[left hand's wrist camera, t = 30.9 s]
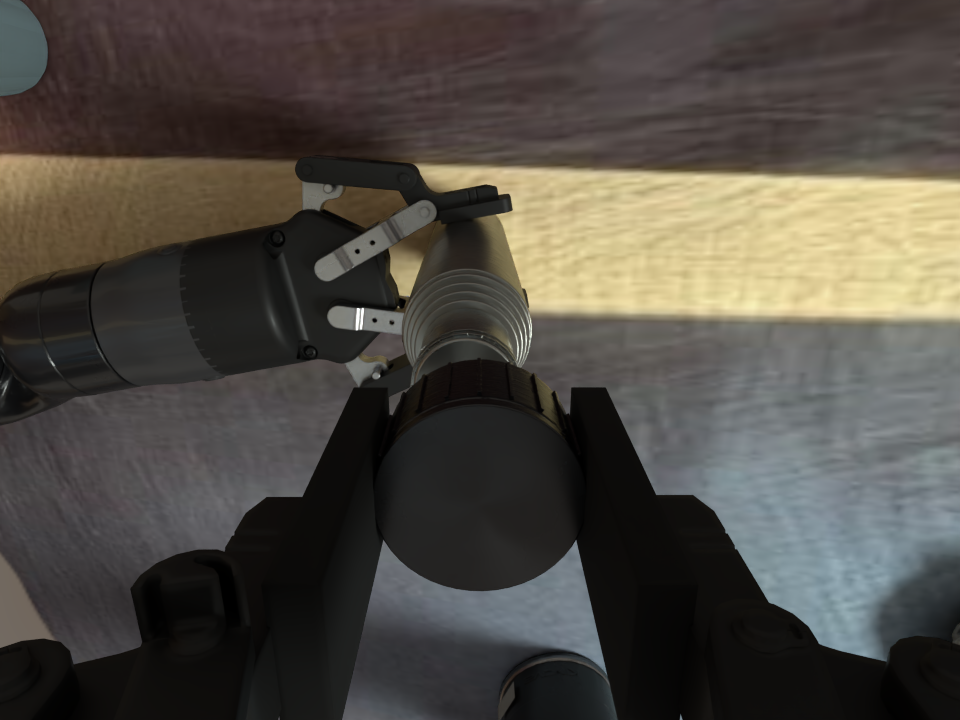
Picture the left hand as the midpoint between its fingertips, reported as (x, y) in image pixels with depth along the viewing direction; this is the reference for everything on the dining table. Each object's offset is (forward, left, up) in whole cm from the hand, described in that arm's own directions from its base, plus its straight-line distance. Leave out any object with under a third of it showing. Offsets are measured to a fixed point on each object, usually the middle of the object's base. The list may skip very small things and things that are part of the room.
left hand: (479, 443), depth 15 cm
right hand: (-2, +1, -21) cm, 22 cm away
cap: (0, 0, +2) cm, 2 cm away
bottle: (0, 0, -28) cm, 28 cm away
